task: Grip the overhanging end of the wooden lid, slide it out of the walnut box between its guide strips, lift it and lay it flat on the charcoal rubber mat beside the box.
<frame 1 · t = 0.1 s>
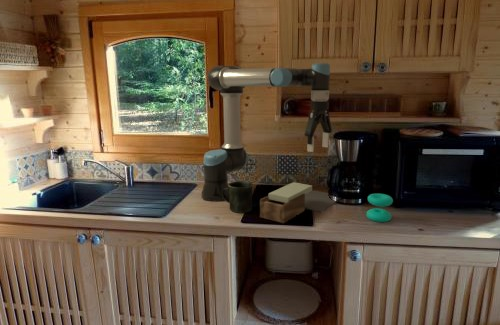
hand: (318, 149, 157), 28 cm above the countertop, tool pointing down, fingers open, 13 cm apart
lid: (291, 194, 161), point 7 cm above the countertop, touching box
donuts: (378, 219, 151), on the countertop
mug: (237, 209, 163), on the countertop
box: (282, 213, 157), on the countertop
mat: (315, 200, 174), on the countertop
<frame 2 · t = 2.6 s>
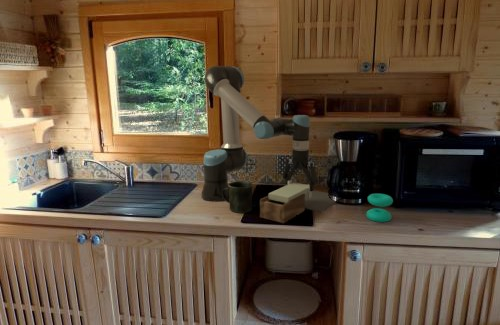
hand: (299, 195, 167), 4 cm above the countertop, tool pointing down, fingers closed on lid, 10 cm apart
lid: (291, 194, 161), point 7 cm above the countertop, touching box, gripper
everything else where it was.
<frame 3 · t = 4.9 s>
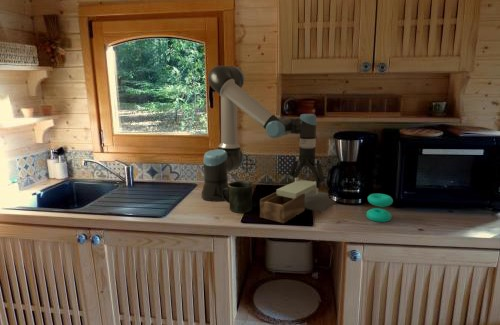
hand: (306, 191, 173), 5 cm above the countertop, tool pointing down, fingers closed on lid, 10 cm apart
lid: (298, 191, 166), point 7 cm above the countertop, touching gripper
everything else where it was.
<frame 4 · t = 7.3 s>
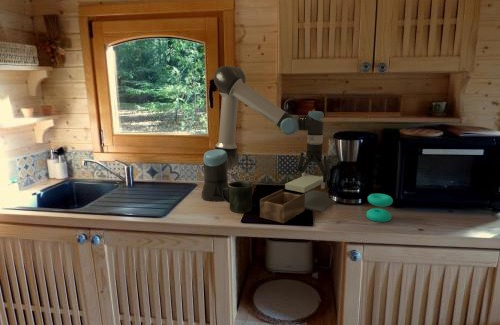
hand: (312, 186, 179), 5 cm above the countertop, tool pointing down, fingers closed on lid, 10 cm apart
lid: (305, 185, 172), point 8 cm above the countertop, touching gripper
everything else where it was.
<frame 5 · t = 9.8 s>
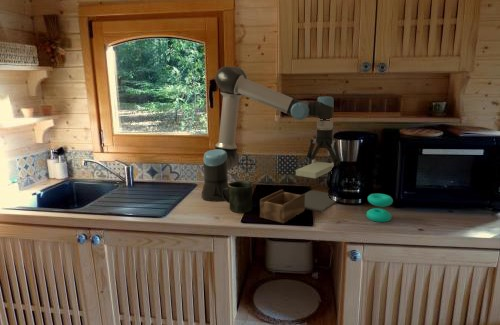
hand: (323, 173, 176), 12 cm above the countertop, tool pointing down, fingers closed on lid, 10 cm apart
lid: (316, 171, 169), point 15 cm above the countertop, touching gripper
everything else where it was.
when the fingers open (2 cm above the countertop, at t = 12.1 s): lid drops 4 cm, resting on mat.
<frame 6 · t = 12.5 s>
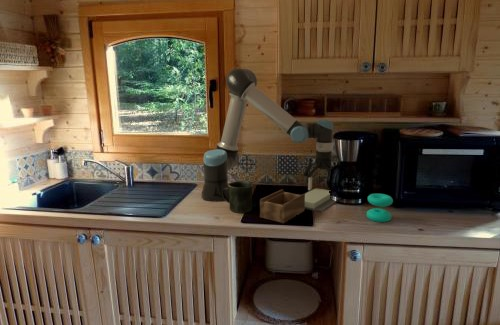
hand: (322, 191, 178), 3 cm above the countertop, tool pointing down, fingers open, 13 cm apart
lid: (314, 200, 173), point 1 cm above the countertop, touching mat
everything else where it was.
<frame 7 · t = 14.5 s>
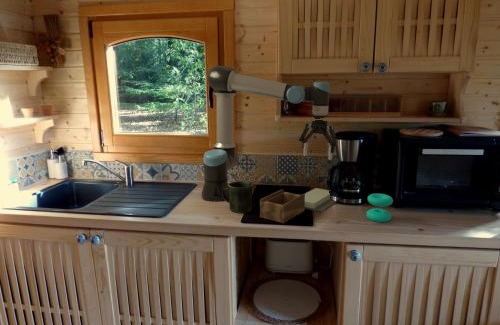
hand: (317, 157, 176), 20 cm above the countertop, tool pointing down, fingers open, 13 cm apart
nothing on the countertop moved.
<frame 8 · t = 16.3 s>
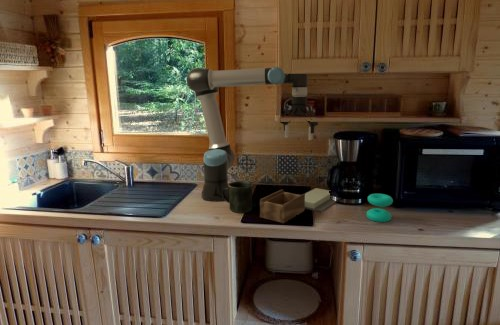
hand: (298, 138, 180), 29 cm above the countertop, tool pointing down, fingers open, 13 cm apart
nothing on the countertop moved.
at the end: lid inside the target area (0.4 cm from its centre), point 0.6 cm above the countertop; lid tilted 0°; the gripper is holding nothing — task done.
